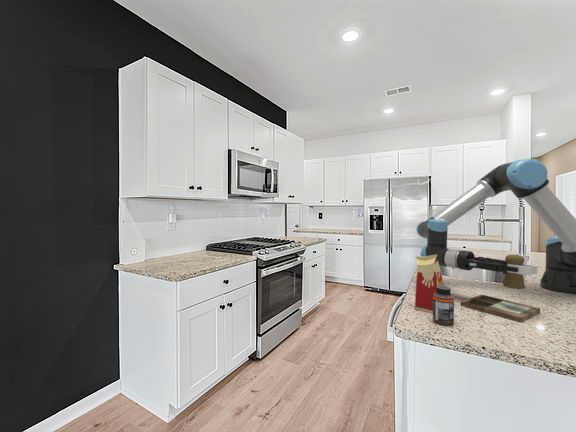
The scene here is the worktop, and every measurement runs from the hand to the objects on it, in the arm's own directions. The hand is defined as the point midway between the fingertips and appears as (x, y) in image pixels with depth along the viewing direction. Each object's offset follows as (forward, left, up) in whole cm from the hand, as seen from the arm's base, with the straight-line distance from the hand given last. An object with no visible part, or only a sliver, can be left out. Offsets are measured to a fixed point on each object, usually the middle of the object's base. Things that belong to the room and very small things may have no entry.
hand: (533, 270), depth 95 cm
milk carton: (+20, -24, -16) cm, 35 cm away
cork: (0, -5, -7) cm, 9 cm away
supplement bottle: (+28, -14, -16) cm, 35 cm away
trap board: (0, -10, -16) cm, 18 cm away
